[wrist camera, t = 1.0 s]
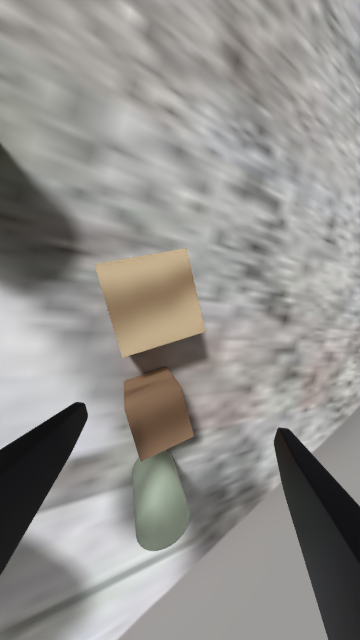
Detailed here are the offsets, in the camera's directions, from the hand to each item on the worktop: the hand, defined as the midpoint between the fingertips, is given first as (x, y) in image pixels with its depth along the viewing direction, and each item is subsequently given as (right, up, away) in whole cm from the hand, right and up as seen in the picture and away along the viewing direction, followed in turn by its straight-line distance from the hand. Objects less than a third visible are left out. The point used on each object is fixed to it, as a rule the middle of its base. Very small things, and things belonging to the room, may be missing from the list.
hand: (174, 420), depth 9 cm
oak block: (-3, +7, +13) cm, 15 cm away
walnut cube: (-3, -4, +13) cm, 14 cm away
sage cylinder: (-3, -13, +14) cm, 20 cm away
